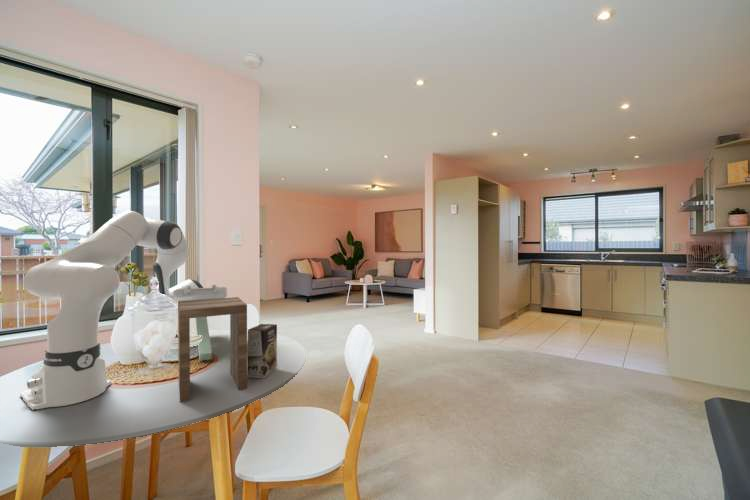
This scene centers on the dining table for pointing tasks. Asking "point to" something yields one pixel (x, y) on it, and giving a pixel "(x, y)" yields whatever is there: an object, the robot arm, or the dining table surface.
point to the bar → (204, 345)
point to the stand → (237, 337)
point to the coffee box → (262, 350)
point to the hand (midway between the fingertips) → (201, 287)
